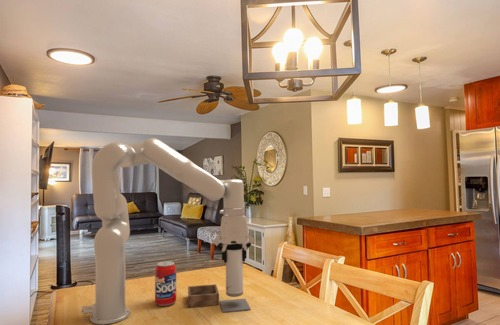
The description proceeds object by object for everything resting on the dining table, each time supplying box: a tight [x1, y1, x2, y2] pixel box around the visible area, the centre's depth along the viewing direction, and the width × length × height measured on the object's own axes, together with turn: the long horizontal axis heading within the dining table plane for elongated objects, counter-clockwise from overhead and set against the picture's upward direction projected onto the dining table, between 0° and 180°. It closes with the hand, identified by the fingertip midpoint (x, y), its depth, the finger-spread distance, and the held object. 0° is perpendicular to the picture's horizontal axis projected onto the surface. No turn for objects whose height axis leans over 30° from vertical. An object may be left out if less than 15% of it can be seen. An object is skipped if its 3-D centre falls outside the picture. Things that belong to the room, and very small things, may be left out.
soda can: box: [154, 260, 177, 307], centre depth 124 cm, size 8×8×15 cm
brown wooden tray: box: [187, 283, 220, 308], centre depth 126 cm, size 11×11×4 cm
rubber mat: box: [219, 298, 251, 314], centre depth 121 cm, size 10×10×1 cm
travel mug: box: [225, 241, 244, 298], centre depth 121 cm, size 6×7×20 cm
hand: (234, 260), depth 121 cm, fingers closed on travel mug, 6 cm apart
